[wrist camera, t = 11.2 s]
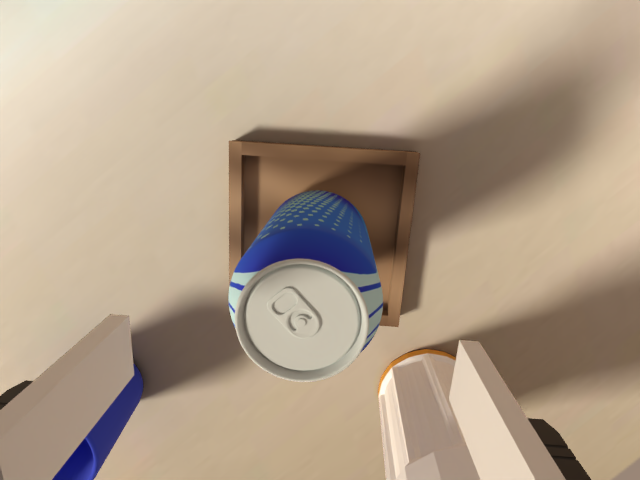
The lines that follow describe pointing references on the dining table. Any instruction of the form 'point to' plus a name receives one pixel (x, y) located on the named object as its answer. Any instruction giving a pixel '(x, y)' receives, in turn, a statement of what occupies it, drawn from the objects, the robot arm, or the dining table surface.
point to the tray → (332, 176)
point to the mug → (103, 434)
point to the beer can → (307, 289)
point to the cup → (422, 420)
